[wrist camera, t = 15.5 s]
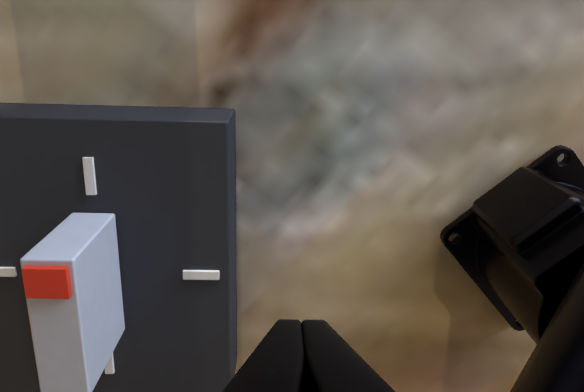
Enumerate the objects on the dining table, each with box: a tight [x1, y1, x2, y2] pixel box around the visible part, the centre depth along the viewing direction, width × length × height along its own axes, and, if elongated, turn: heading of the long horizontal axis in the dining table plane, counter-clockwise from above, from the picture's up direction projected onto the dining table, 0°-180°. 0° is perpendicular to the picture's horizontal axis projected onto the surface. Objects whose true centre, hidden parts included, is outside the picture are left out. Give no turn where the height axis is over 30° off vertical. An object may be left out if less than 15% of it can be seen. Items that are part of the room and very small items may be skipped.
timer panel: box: [0, 103, 237, 392], centre depth 21 cm, size 12×10×3 cm
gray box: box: [20, 213, 125, 392], centre depth 17 cm, size 5×2×4 cm, turn 178°
